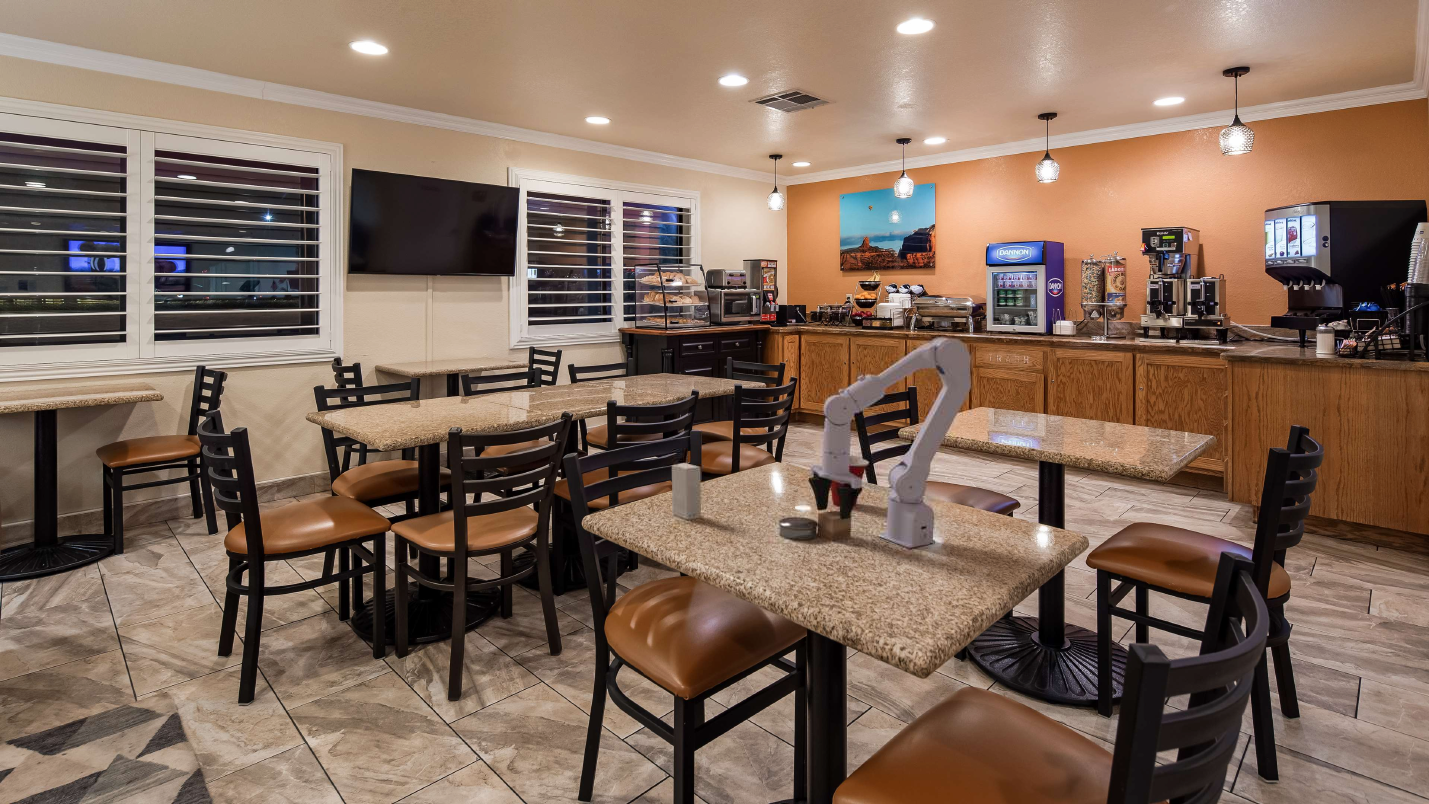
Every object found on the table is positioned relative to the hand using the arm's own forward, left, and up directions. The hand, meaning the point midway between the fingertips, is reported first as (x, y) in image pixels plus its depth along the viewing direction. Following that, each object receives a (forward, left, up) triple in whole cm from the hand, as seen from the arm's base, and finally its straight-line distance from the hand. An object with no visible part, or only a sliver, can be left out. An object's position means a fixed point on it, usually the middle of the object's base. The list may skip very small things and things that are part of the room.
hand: (833, 513), depth 160 cm
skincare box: (+28, +20, -5) cm, 35 cm away
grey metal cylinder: (+4, +6, -5) cm, 9 cm away
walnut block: (0, 0, -5) cm, 5 cm away
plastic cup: (+19, -21, -5) cm, 29 cm away
